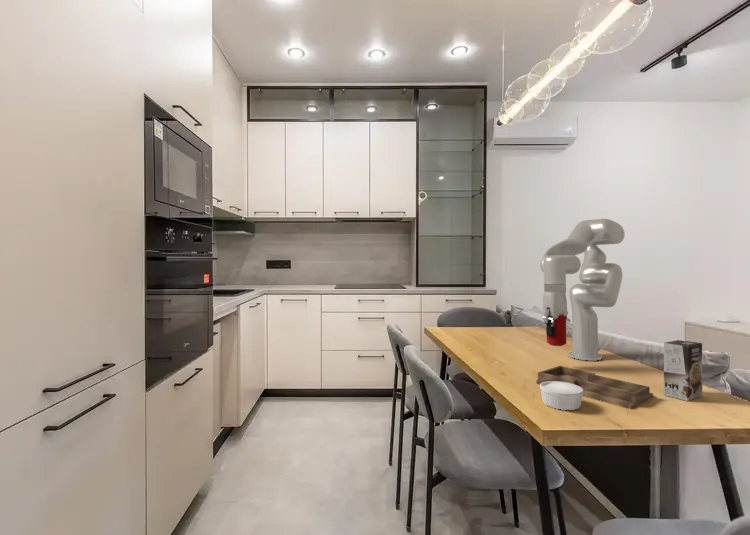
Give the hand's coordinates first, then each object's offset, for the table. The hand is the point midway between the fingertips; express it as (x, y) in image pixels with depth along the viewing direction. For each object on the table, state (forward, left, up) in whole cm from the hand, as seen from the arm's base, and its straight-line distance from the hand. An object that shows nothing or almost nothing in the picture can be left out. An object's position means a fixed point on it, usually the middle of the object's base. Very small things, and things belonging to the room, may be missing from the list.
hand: (556, 334), depth 142 cm
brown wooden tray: (+14, +19, -13) cm, 27 cm away
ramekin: (+34, +20, -14) cm, 42 cm away
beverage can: (0, 0, -4) cm, 4 cm away
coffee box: (-2, +38, -13) cm, 40 cm away
